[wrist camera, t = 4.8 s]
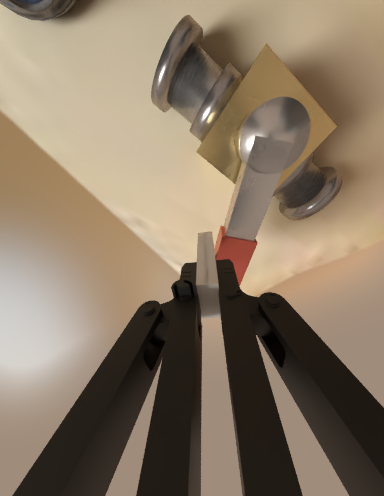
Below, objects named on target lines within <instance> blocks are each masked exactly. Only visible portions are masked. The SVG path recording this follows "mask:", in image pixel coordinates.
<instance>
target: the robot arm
mask: <svg viewBox="0 0 384 496" xmlns="http://www.w3.org/2000/svg"><path fill="white" fill-rule="evenodd" d="M171 289H172V292H173V296H174V299H172V300H171V301H169V302H166V303H163V304H159V302H157V301H148V302H145V303H144V304H142V305H141V306H140V307H139V308H138V310H137V311H136V313H135V314H134V316H133V317H132V319H131V320H130V322H129V323H128V325H127V326H126V328H125V329H124V331H123V332H122V334H121V335H120V337H119V338H118V340H117V341H116V343H115V344H114V346H113V347H112V349H111V350H110V352H109V353H108V355H107V356H106V357H105V359H104V360H103V362H102V363H101V365H100V366H99V368H98V369H97V371H96V372H95V374H94V375H93V377H92V378H91V380H90V381H89V383H88V384H87V386H86V387H85V389H84V390H83V392H82V393H81V395H80V396H79V398H78V399H77V401H76V402H75V404H74V405H73V407H72V408H71V409H70V411H69V413H68V414H67V415H66V417H65V418H64V420H63V421H62V423H61V424H60V426H59V428H58V429H57V430H56V432H55V433H54V435H53V436H52V438H51V439H50V441H49V442H48V444H47V445H46V447H45V448H44V450H43V451H42V453H41V454H40V456H39V457H38V459H37V460H36V462H35V463H34V464H33V466H32V468H31V469H30V470H29V472H28V473H27V475H26V476H25V478H24V479H23V481H22V483H21V484H20V485H19V487H18V488H17V490H16V491H15V493H14V494H13V496H105V495H106V492H107V490H108V487H109V485H110V483H111V480H112V478H113V475H114V473H115V471H116V468H117V466H118V464H119V461H120V459H121V456H122V454H123V451H124V449H125V447H126V444H127V442H128V440H129V437H130V435H131V432H132V430H133V427H134V425H135V423H136V420H137V418H138V415H139V413H140V411H141V408H142V406H143V403H144V401H145V399H146V396H147V394H148V391H149V389H150V387H151V384H152V382H153V379H154V377H155V375H156V372H157V370H158V367H159V365H160V363H161V360H162V364H161V369H160V375H159V380H158V385H157V390H156V395H155V401H154V406H153V411H152V416H151V421H150V427H149V432H148V437H147V442H146V448H145V453H144V459H143V464H142V469H141V474H140V480H139V484H138V490H137V495H136V496H201V495H200V494H201V381H202V380H201V379H202V378H201V377H202V324H201V318H212V317H221V321H222V332H223V338H224V346H225V355H226V363H227V371H228V379H229V387H230V395H231V404H232V412H233V420H234V428H235V436H236V445H237V453H238V460H239V469H240V477H241V486H242V494H243V496H302V492H301V489H300V485H299V482H298V478H297V475H296V471H295V468H294V465H293V461H292V458H291V454H290V451H289V448H288V444H287V441H286V437H285V434H284V430H283V427H282V423H281V420H280V417H279V413H278V410H277V406H276V403H275V400H274V396H273V393H272V390H271V386H270V382H269V379H268V376H267V372H266V369H265V365H264V362H263V359H262V355H261V352H260V349H259V345H258V341H257V338H256V335H257V336H258V338H259V340H260V341H261V343H262V345H263V347H264V348H265V350H266V352H267V353H268V355H269V357H270V359H271V361H272V362H273V364H274V366H275V367H276V369H277V371H278V373H279V374H280V376H281V378H282V380H283V381H284V383H285V385H286V386H287V388H288V390H289V392H290V393H291V395H292V397H293V399H294V400H295V402H296V404H297V406H298V407H299V409H300V411H301V412H302V414H303V416H304V418H305V419H306V421H307V423H308V425H309V426H310V428H311V430H312V432H313V433H314V435H315V437H316V438H317V440H318V442H319V444H320V445H321V447H322V449H323V451H324V452H325V454H326V456H327V458H328V459H329V461H330V463H331V464H332V466H333V468H334V469H335V471H336V473H337V475H338V477H339V478H340V480H341V482H342V483H343V485H344V487H345V489H346V490H347V492H348V494H349V496H384V408H383V407H382V406H381V404H380V403H379V402H378V401H377V400H376V399H375V398H374V397H373V396H372V394H371V393H370V392H369V391H368V390H367V389H366V388H365V387H364V386H363V385H362V383H361V382H360V381H359V380H358V379H357V378H356V377H355V376H354V375H353V374H352V373H351V372H350V370H349V369H348V368H347V367H346V366H345V365H344V364H343V363H342V362H341V360H340V359H339V358H338V357H337V356H336V355H335V354H334V353H333V352H332V350H331V349H330V348H329V347H328V346H327V345H326V344H325V343H324V342H323V341H322V340H321V338H320V337H319V336H318V335H317V334H316V333H315V332H314V331H313V330H312V329H311V327H310V326H309V325H308V324H307V323H306V322H305V321H304V320H303V319H302V318H301V316H300V315H299V314H298V313H297V312H296V311H295V310H294V309H293V308H292V306H291V305H290V304H289V303H288V302H287V301H286V300H285V299H284V298H283V297H282V296H280V295H278V294H276V293H271V292H268V293H264V294H262V295H261V296H260V297H254V296H249V295H247V294H245V293H244V292H242V290H241V289H240V287H239V283H238V280H237V276H236V273H235V269H234V265H233V262H232V261H231V260H230V259H223V260H215V252H214V244H213V236H212V232H204V233H198V247H197V262H194V263H185V264H184V266H183V267H182V270H181V276H180V280H178V281H176V282H175V283H174V284H173V285H172V287H171ZM162 358H163V359H162Z"/></svg>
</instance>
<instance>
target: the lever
mask: <svg viewBox="0 0 384 496" xmlns="http://www.w3.org/2000/svg"><path fill="white" fill-rule="evenodd" d="M309 136H310V118H309V114H308V112H307V110H306V108H305V107H304V106H303V105H302V103H300V102H299V101H298V100H296V99H294V98H291V97H276V98H273V99H270V100H268V101H266V102H265V103H263V104H262V105H260V106H259V107H257V108H256V109H254V110H253V111H252V112H251V113H250V114H249V115H248V116H247V117H246V118H245V120H244V121H243V123H242V125H241V127H240V129H239V132H238V136H237V151H238V155H239V157H240V159H241V161H242V164H241V167H240V171H239V174H238V178H237V181H236V185H235V188H234V192H233V195H232V199H231V202H230V206H229V209H228V213H227V216H226V220H225V223H224V227H223V226H220V230H219V234H218V237H217V241H216V245H215V248H214V252H215V260H223V259H230V260H231V261H232V262H233V265H234V269H235V273H236V276H237V280H238V283H239V286H240V284H241V281H242V279H243V277H244V274H245V272H246V269H247V267H248V265H249V262H250V260H251V257H252V255H253V253H254V250H255V248H256V245H257V241H256V239H255V238H256V235H257V233H258V230H259V228H260V225H261V223H262V220H263V218H264V216H265V213H266V211H267V208H268V206H269V203H270V201H271V198H272V196H273V193H274V191H275V188H276V186H277V183H278V181H279V178H280V176H281V173H282V171H283V170H285V169H287V168H288V167H290V166H291V165H292V164H293V163H295V161H296V160H297V159H298V158H299V157H300V156H301V154H302V153H303V151H304V149H305V147H306V145H307V143H308V140H309Z"/></svg>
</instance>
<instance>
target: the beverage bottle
mask: <svg viewBox="0 0 384 496" xmlns="http://www.w3.org/2000/svg"><path fill="white" fill-rule="evenodd" d="M75 2H76V0H0V3H1V4H2V5H4V6H5V7H7V8H8V9H10V10H12V11H13V12H15V13H16V14H18V15H20V16H23V17H25V18H28V19H31V20H40V21H44V20H49V19H53V18H56V17H58V16H61V15H63V14H64V13H66V12H67V11H68V10H69V9H70V8H71V7H72V6H73V4H74V3H75Z"/></svg>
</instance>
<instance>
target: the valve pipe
mask: <svg viewBox="0 0 384 496" xmlns="http://www.w3.org/2000/svg"><path fill="white" fill-rule="evenodd" d="M202 37H203V29H202V27H201V26H200V25H199V24H198V23H197V22H196V21H195V20H194V19H193V18H192V17H191V16H190V15H187V16H185V17H184V18H182V19H181V21H180V22H179V23H178V24H177V26H176V27H175V29H174V30H173V32H172V34H171V36H170V37H169V39H168V41H167V43H166V46H165V48H164V50H163V53H162V55H161V57H160V60H159V63H158V66H157V69H156V72H155V76H154V80H153V85H152V92H151V99H152V102H153V104H154V105H156V106H157V107H158V108H159V109H160V110H161V111H163V112H166V111H168V110H169V109H170V108H171V107H173V108H174V109H175V110H176V111H178V112H179V113H180V114H181V115H182V116H183V117H184V118H186V119H187V120H188V121H189V122H190V123H191V124H192V125H191V128H190V132H191V133H192V134H193V135H194V136H195V137H197V138H198V139H199V140H200V141H201V142H202V144H201V145H200V147H199V148H198V150H197V153H198V154H200V155H201V156H202V157H203V158H204V159H206V160H207V161H208V162H209V163H210V164H212V165H213V166H214V167H215V168H216V169H218V170H219V171H220V172H221V173H222V174H224V175H225V176H226V177H227V178H228V179H230V180H231V181H232V182H233V183H234V184H236V181H237V178H238V174H239V171H240V167H241V164H242V161H241V159H240V157H239V155H238V151H237V136H238V132H239V129H240V127H241V125H242V123H243V121H244V120H245V118H246V117H247V116H248V115H249V114H250V113H251V112H252V111H253V110H254V109H256V108H257V107H259V106H260V105H262V104H263V103H265V102H266V101H268V100H270V99H273V98H276V97H291V98H294V99H296V100H298V101H299V102H300V103H302V105H303V106H304V107H305V108H306V110H307V112H308V114H309V118H310V136H309V140H308V143H307V145H306V147H305V149H304V151H303V153H302V154H301V156H300V157H299V158H298V159H297V160H296V161H295V163H293V164H292V165H291V166H290V167H288V168H287V169H285V170H283V171H282V173H281V176H280V178H279V181H278V183H277V186H276V188H275V191H274V193H273V196H274V197H276V198H277V199H278V200H279V201H280V202H281V203H280V206H279V209H280V212H281V213H282V214H283V215H284V216H285V217H287V218H288V219H290V220H300V219H304V218H307V217H309V216H311V215H313V214H315V213H317V212H318V211H320V210H321V209H322V208H324V207H325V206H326V205H327V204H328V203H330V202H331V201H332V199H333V198H334V197H335V196H336V195H337V193H338V192H339V190H340V188H341V186H342V177H341V176H340V174H339V173H338V172H337V171H336V170H335V169H334V168H332V167H322V168H318V167H317V166H316V165H315V164H314V163H313V162H312V159H313V157H314V150H315V149H316V148H317V147H318V146H319V145H320V144H321V143H322V142H323V141H324V140H325V139H326V137H327V136H328V135H329V134H330V133H331V132H332V131H333V130H334V129H335V128H336V127H337V126H336V124H335V123H334V122H333V121H332V120H331V119H330V117H329V116H328V115H327V114H326V113H325V112H324V110H323V109H322V108H321V107H320V106H319V105H318V103H317V102H316V101H315V100H314V99H313V97H312V96H311V95H310V94H309V93H308V92H307V90H306V89H305V88H304V87H303V86H302V85H301V83H300V82H299V81H298V80H297V79H296V78H295V76H294V75H293V74H292V73H291V72H290V70H289V69H288V68H287V67H286V66H285V65H284V63H283V62H282V61H281V60H280V59H279V58H278V56H277V55H276V54H275V53H274V52H273V51H272V49H271V48H270V47H269V46H268V45H267V44H266V45H265V46H264V48H263V49H262V51H261V53H260V54H259V56H258V57H257V59H256V60H255V62H254V63H253V65H252V66H251V68H250V70H249V71H248V73H247V74H246V76H245V77H243V76H242V75H241V74H240V73H239V72H238V71H237V70H236V69H235V68H234V67H233V65H232V64H231V63H228V64H227V65H226V67H225V68H224V69H222V68H221V67H220V66H219V65H218V64H217V63H216V62H215V61H214V60H213V59H212V58H211V57H210V56H209V55H208V54H207V53H206V52H205V51H204V50H203V49H202V48H201V47H200V46H201V43H202ZM273 196H272V197H273Z"/></svg>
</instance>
